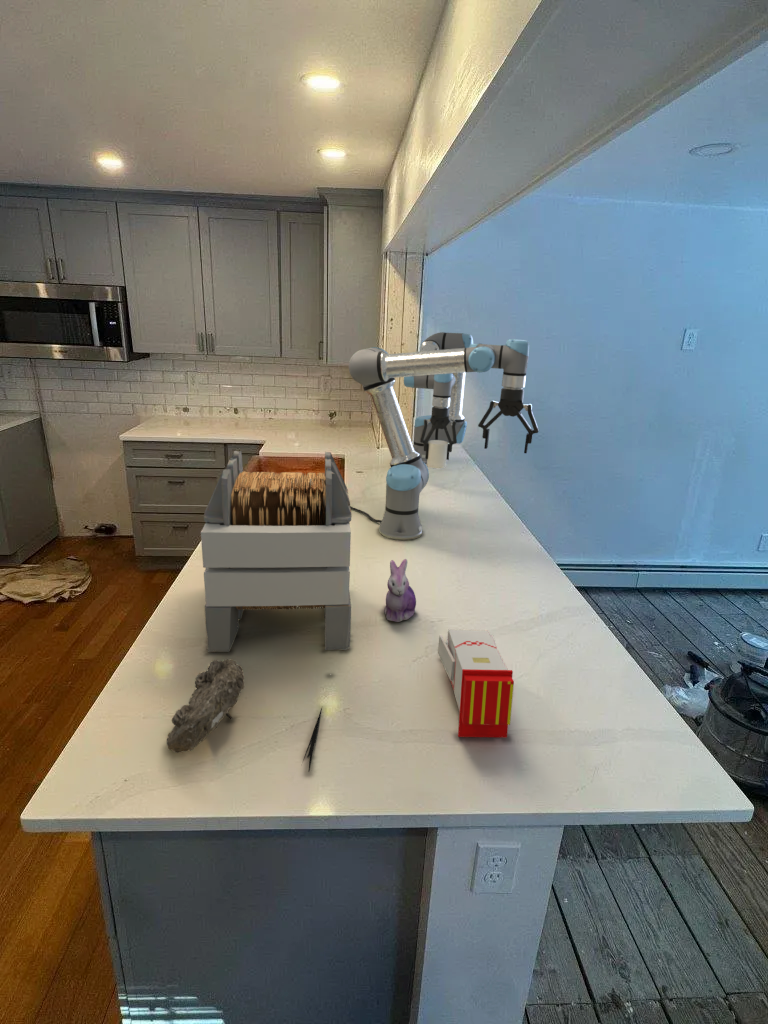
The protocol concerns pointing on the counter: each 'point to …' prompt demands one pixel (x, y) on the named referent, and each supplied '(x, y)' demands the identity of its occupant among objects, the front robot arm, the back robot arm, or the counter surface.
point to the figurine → (399, 594)
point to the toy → (478, 682)
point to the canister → (437, 454)
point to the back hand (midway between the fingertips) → (436, 458)
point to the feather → (313, 740)
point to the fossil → (206, 705)
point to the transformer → (277, 549)
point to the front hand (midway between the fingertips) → (505, 450)
